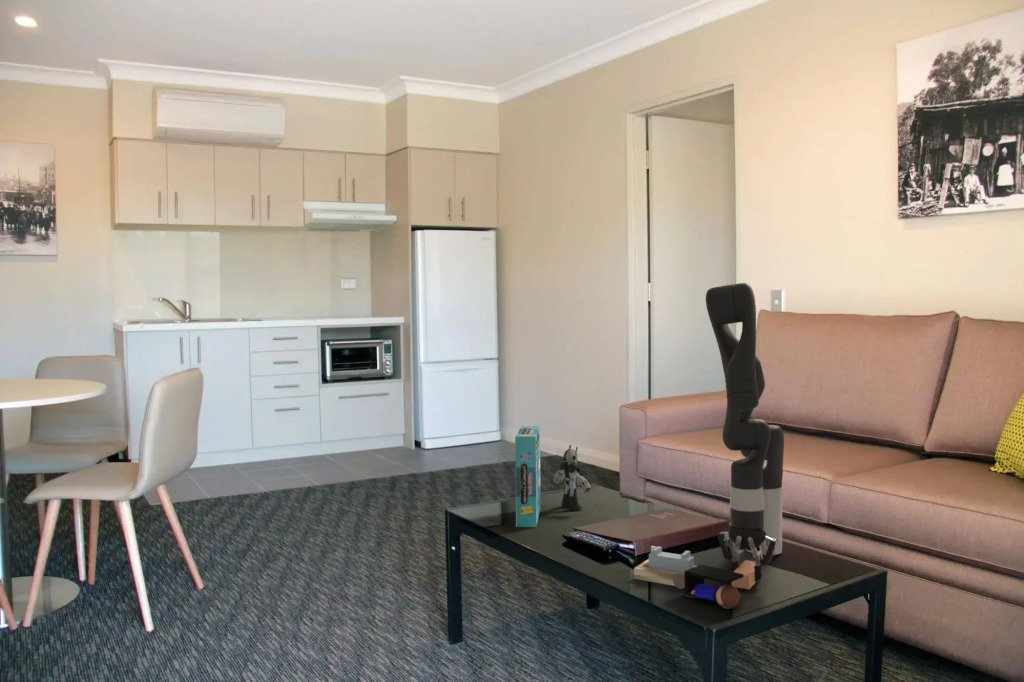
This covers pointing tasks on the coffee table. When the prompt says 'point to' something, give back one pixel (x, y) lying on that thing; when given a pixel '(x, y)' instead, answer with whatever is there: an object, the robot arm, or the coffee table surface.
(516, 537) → the coffee table surface
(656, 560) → the grey toy brick
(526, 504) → the game box
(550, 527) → the coffee table surface
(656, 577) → the cradle
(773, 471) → the robot arm
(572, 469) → the robot
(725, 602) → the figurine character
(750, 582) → the orange rectangular block
